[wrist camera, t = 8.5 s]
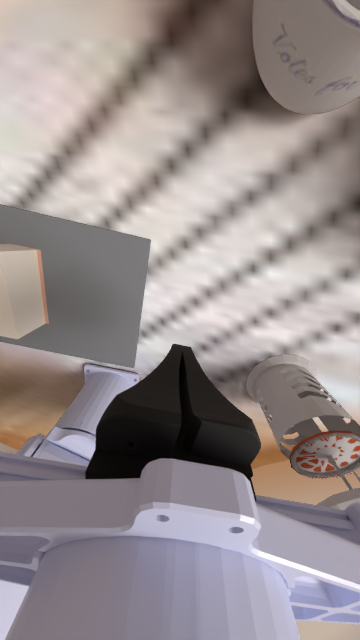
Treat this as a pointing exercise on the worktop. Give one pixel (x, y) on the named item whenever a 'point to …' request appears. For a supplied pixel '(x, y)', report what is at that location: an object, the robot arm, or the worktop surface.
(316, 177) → the worktop surface
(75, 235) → the slate mat
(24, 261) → the t block
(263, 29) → the teacup
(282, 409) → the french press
